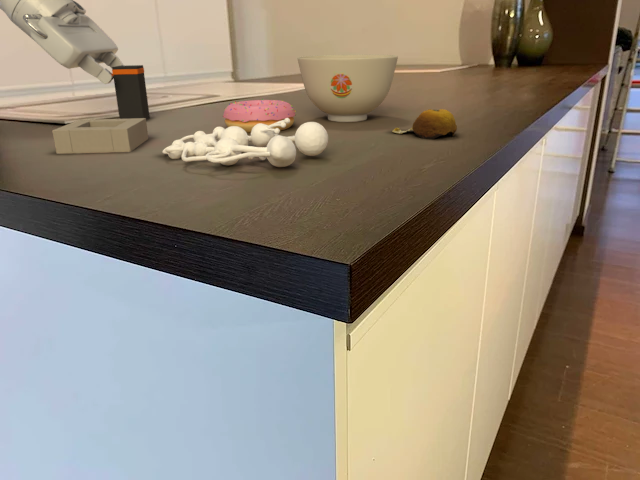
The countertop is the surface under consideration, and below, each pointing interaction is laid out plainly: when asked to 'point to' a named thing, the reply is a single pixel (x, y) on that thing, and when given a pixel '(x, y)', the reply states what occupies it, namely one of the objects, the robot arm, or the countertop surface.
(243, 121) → the doughnut
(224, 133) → the tangled rod sculpture
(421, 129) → the fruit
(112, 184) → the countertop surface
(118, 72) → the black orange-banded block
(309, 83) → the bowl
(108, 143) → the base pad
